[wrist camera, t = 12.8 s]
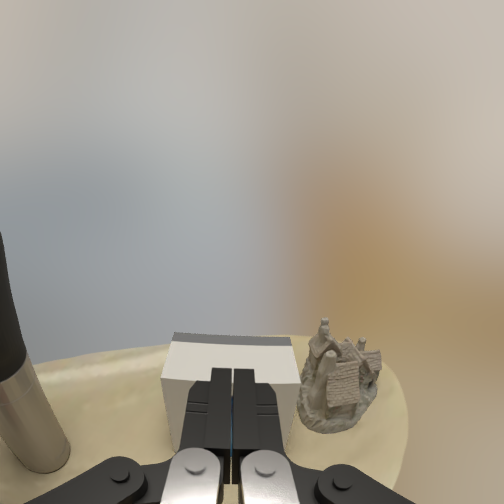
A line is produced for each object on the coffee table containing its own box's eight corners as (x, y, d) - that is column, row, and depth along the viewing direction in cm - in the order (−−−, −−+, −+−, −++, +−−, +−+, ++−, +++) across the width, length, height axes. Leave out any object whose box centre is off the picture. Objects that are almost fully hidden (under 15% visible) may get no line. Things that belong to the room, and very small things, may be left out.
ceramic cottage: (295, 433, 40) (320, 356, 36) (290, 369, 56) (306, 299, 51) (388, 433, 40) (427, 360, 35) (366, 374, 55) (390, 308, 51)
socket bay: (174, 452, 35) (160, 377, 30) (182, 408, 44) (174, 332, 39) (283, 456, 36) (300, 383, 31) (277, 411, 44) (289, 337, 39)
